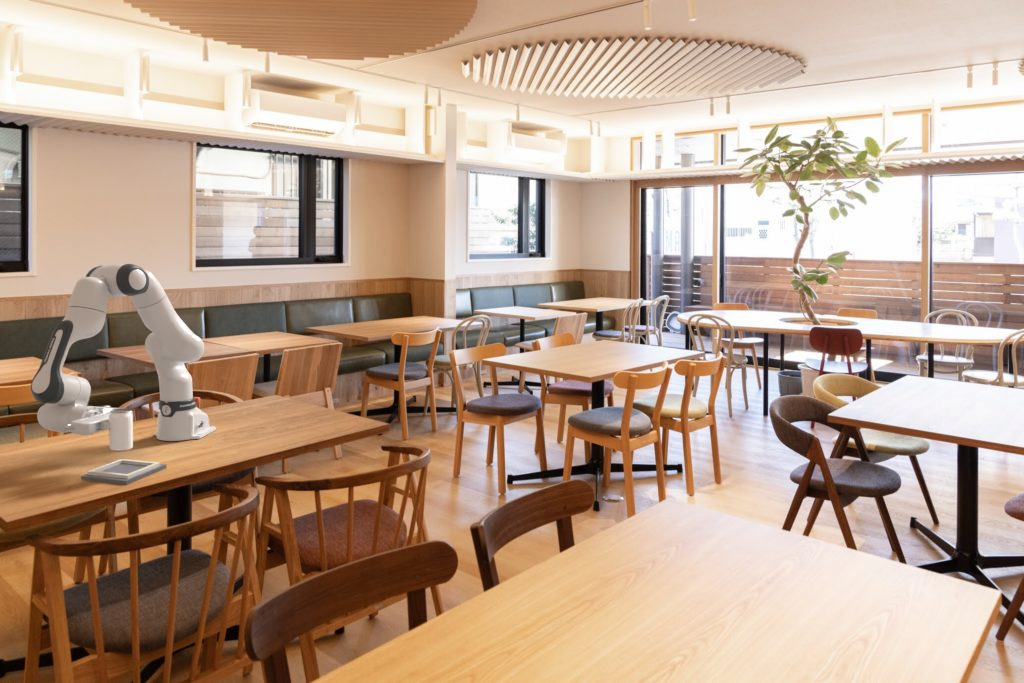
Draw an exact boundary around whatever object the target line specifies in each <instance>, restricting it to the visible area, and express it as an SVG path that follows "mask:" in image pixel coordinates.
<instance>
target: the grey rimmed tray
mask: <svg viewBox="0 0 1024 683" xmlns="http://www.w3.org/2000/svg"><path fill="white" fill-rule="evenodd" d="M166 469H167V464H165V463H161V462H157V461H146V460H137V459H136V460H135V459H126V458H120V459H118V460H114V461H112V462H109V463H106V464H103V465H101V466H98V467H95V468H93V469H90V470H87V473H85V474H81V475H80V480H81V481H88V482H97V483H107V484H114V485H130V484H132V483H134V482H136V481H139V480H141V479H143V478H146V477H149V476H151V475H153V474H155V473H158V472H161V471H163V470H166Z"/></svg>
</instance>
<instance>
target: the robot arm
mask: <svg viewBox="0 0 1024 683" xmlns="http://www.w3.org/2000/svg"><path fill="white" fill-rule="evenodd" d="M122 297H129V298H130V300H131V303H132V304H133V306H134V308H135V310H136V312H137V314H138V316H139V318H140V320H141V321H142V323H143V325H144V327H146V328H147V329H148V330H149V331H151V333H149V334H148V335H147V337H146V338H145V341H144V347H145V350H146V352H147V354H148V355H149V356H150V358H151V359H152V361H153V364H154V367H155V369H156V373H157V377H158V384H159V385H158V386H159V387H158V388H159V399H158V409H159V412H158V414H157V423H156V424H157V425H156V431H155V432H154V436H156V439H157V440H160V441H165V442H166V441H167V442H177V441H179V442H180V441H188V440H198V439H202V438H205V437H206V436H208V435H209V434H211V433H213V432H214V431H216V430H217V428H216V426H214V425H210V418H209V416H208V414H207V413H206V412H204V411H203V410H201V409H200V408H199V407H198V406H197V403H201V397H199V396H194V395H193V394H194V393H193V391H194V390H193V377H192V375H191V373H189V371H188V369H187V367H186V365H185V364H189V363H194V362H198V361H199V360H200V359H201V358H202V357H203V355H204V353H205V348H206V347H205V343H204V340H203V339H202V338H201V337H200V336H198V335H197V334H195V333H194V332H193V331H192V329H190V328H189V327H188V325H187V324H186V323H185V322H184V321H183V320H182V318H181V317H180V316H179V315H178V313H177V312H176V310H175V309H174V306H173V305H172V302H171V301H170V299H169V297H168V295H167V293H166V291H165V289H164V287H163V286H162V284H161V283H160V282H159V280H158V279H157V277H156V276H155V275H154V274H153V273H152V272H151V271H150V270H147V269H143V268H142V267H141V266H139V265H137V264H133V263H125V264H124V263H112V264H107V265H98V266H96V267H93V268H91V269H90V270H88V271H87V273H86V275H85V277H81V278H80V279H78V280H77V282H76V284H75V285H74V288H73V290H72V293H71V294H70V298H69V302H68V307H67V311H66V313H65V316H64V317H63V319H62V321H60V322H58V323H57V324H56V326H55V327H54V328H53V329H54V330H53V331H52V334H51V336H50V339H49V341H48V344H47V347H46V349H45V351H44V355H43V358H42V360H41V363H40V366H39V368H38V369H37V371H36V373H35V375H34V376H33V378H32V380H31V383H30V391H31V395H32V397H33V398H34V400H36V401H37V402H38V403H42V404H44V405H42V406H40V407H39V409H38V410H37V414H36V417H37V418H36V419H37V421H38V423H39V425H40V426H41V427H42V428H44V429H45V430H49V431H51V432H57V433H58V432H59V433H64V434H65V433H71V434H75V435H81V436H91V435H94V434H96V433H99V432H103V431H106V430H109V429H111V423H110V422H109V415H110V413H111V412H110V411H111V410H113V409H122V408H121V407H112V406H111V405H107V404H106V405H97V406H96V405H95V406H93V405H89V402H90V399H91V397H92V386H91V383H90V382H89V380H88V379H86V378H85V377H82V376H77V375H72V374H68V373H64V372H63V367H64V364H65V361H66V359H67V356H68V353H69V350H70V348H71V346H72V345H73V344H75V342H78V341H81V340H85V339H89V338H92V337H95V336H96V335H98V334H99V333H100V332H101V331H102V329H103V327H104V325H105V323H106V318H107V311H108V304H109V301H110V300H111V298H122ZM131 413H132V417H133V418H134V411H133V410H131Z"/></svg>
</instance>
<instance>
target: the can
mask: <svg viewBox="0 0 1024 683" xmlns="http://www.w3.org/2000/svg"><path fill="white" fill-rule="evenodd" d="M131 411H132V409H130V408H122V409H113V410H111V411H110V412H111V413H110V415H109V422H110V423H111V429H108V434H109V437H108V440H109V449H110V451H114V452H125V451H129V450H132V449H133V447H134V431H133V430H134V429H133V428H134V427H133V426H134V424H133V423H134V416H133V417H132V413H131Z"/></svg>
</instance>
